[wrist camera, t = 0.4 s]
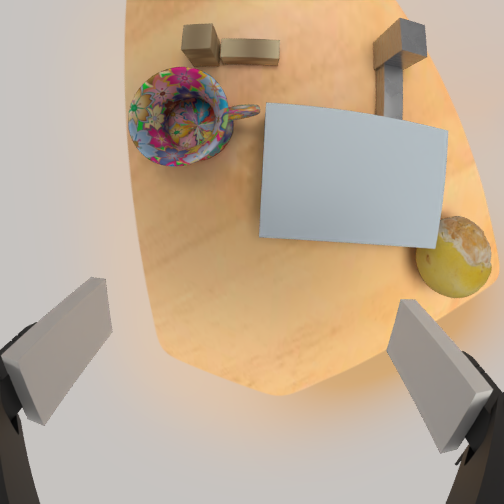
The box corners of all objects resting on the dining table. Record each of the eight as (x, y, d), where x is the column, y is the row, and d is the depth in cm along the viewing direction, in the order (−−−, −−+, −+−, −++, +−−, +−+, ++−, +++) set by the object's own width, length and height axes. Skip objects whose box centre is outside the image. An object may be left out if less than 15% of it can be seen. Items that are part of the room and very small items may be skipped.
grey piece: (341, 36, 32) (360, 8, 23) (394, 47, 32) (424, 25, 23) (335, 184, 37) (356, 193, 29) (390, 190, 37) (422, 200, 29)
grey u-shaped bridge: (265, 113, 35) (266, 102, 28) (416, 133, 35) (448, 130, 27) (259, 221, 39) (259, 237, 31) (406, 231, 39) (435, 248, 31)
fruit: (460, 277, 40) (497, 305, 31) (400, 282, 41) (432, 314, 31) (468, 209, 37) (512, 225, 28) (406, 208, 38) (445, 224, 28)
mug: (165, 168, 37) (132, 173, 27) (159, 96, 35) (125, 78, 25) (263, 157, 37) (264, 156, 27) (256, 82, 34) (254, 56, 24)
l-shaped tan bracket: (194, 66, 34) (181, 49, 27) (196, 45, 33) (183, 25, 26) (277, 68, 34) (281, 49, 27) (278, 46, 33) (281, 24, 26)
